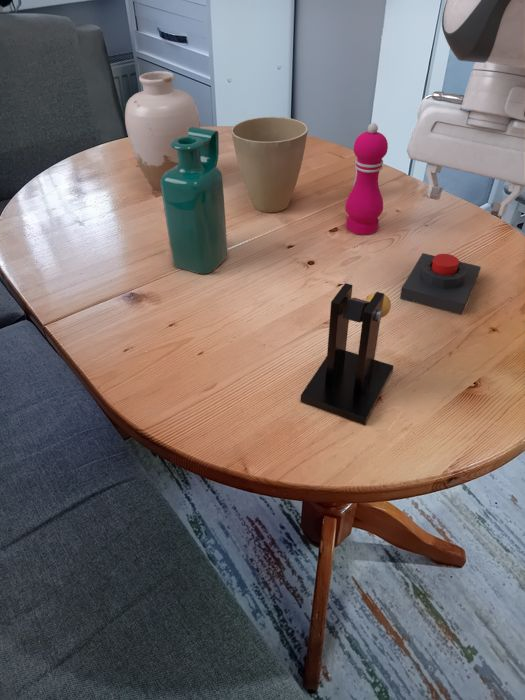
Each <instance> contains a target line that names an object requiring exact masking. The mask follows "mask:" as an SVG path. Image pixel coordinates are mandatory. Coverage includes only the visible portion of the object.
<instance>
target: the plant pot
mask: <svg viewBox="0 0 525 700" xmlns="http://www.w3.org/2000/svg"><path fill="white" fill-rule="evenodd" d="M308 131H309V127H308V125H307V124H306V123H305V122H303V121H302V120H301V121H300V120H298V119H295V118H291V117H284V116H261V117H254V118H250V119H249V118H248V119H245V120H243V121H240V122H238V123H235V124H234V125H233V126H232V128H231V132H230V133H231V137H232V142H233V147H234V151H235V156H236V160H237V164H238V168H239V171H240V174H241V177H242V181H243V184H244V187H245V189H246V192H247V194H248V196H249V199H250V201H251V203H252V205H253V207H254V208H255V209H256V210H257V211H260V212H263V213H278V212H281V211H283V210H285V209H287V208H288V206H289V204H290V201H291V199H292V196H293V194H294V192H295V188H296V186H297V181H298V179H299V175H300V172H301V168H302V164H303V160H304V154H305V149H306V144H307V138H308V137H307V136H308Z"/></svg>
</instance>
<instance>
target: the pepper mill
mask: <svg viewBox="0 0 525 700" xmlns="http://www.w3.org/2000/svg"><path fill="white" fill-rule="evenodd" d="M388 144H389V143H388V140H387V138H386V136H385V134H383V133H381V132H379V126H378V125H377V123H375V122H372V123H370V124H369V125H368V126H367V131H365V132H362V133H360V134H359V135H358V136H357V138H355V141H354V144H353V153H354V155H355V157H356V158H355V159H354V160H355V161H354V162H355V164H354V168H355V170H356V169H357V178H356V182H355V185H354V187H353V186H352V187H353V189H352V188H351V191H350V193H349V194H348V196H347V198H346V201H345V206H344V207H345V208H344V209H345V212H346V214H347V217H346V223H345V227H346V229H347V231H348V232H350V233H352V234H355V235H359V236H367V235H371V234H374V233H376V232H377V231H378V229H379V226H380V225H379V223H380V219H379V217H381V215H382V214H383V211H384V200H383V196H382V193H381V190H380V186H379V176H380V175H379V174H380V171H381V170H382V169H383V167H384V166H383V164H384V160H383V158H384V157H385V156H387V154H388V148H389V145H388Z"/></svg>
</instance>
